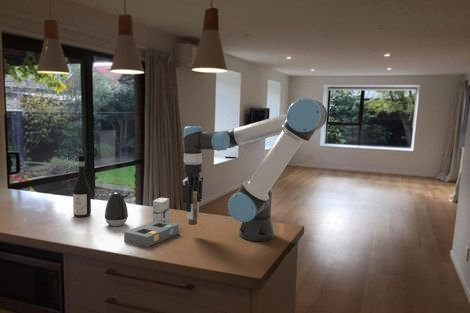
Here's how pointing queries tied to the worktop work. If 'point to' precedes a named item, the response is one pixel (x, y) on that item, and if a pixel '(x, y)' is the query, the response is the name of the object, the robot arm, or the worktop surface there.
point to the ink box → (161, 209)
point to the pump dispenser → (116, 210)
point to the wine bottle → (81, 192)
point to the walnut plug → (194, 209)
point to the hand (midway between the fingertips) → (192, 217)
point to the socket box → (150, 233)
